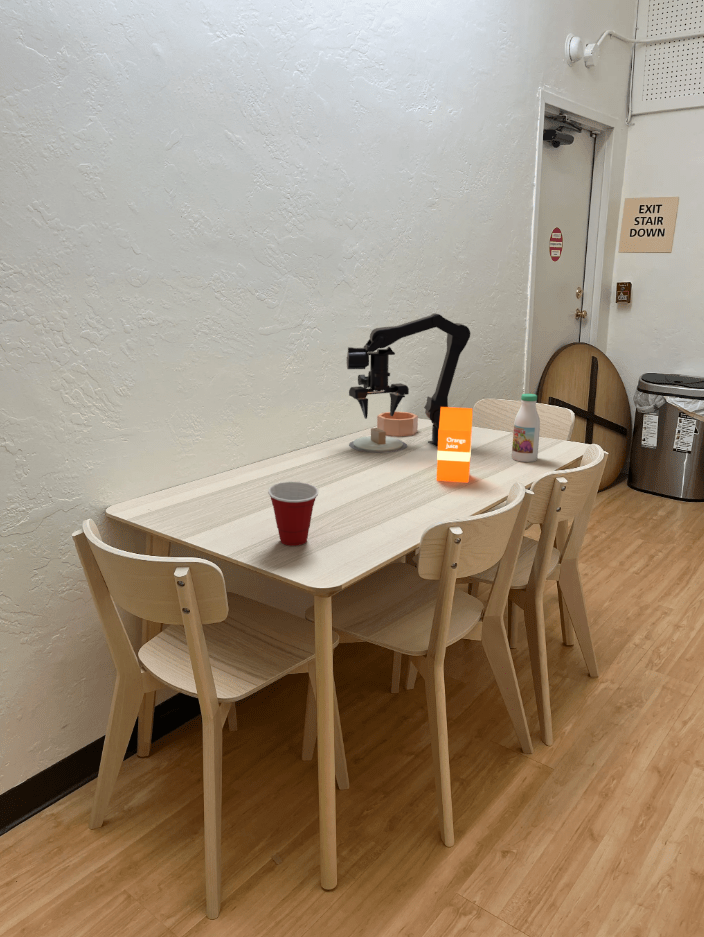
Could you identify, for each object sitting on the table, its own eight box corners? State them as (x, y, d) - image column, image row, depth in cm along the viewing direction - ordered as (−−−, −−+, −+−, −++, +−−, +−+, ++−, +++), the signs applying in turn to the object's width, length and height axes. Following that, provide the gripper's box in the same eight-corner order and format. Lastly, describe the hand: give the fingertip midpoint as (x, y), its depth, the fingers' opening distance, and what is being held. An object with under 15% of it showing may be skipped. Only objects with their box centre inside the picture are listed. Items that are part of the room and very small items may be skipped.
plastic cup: (285, 555, 148) (284, 500, 144) (260, 539, 156) (258, 487, 153) (329, 543, 154) (328, 490, 150) (302, 528, 162) (301, 478, 159)
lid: (411, 448, 228) (411, 433, 227) (365, 453, 222) (365, 438, 221) (389, 437, 242) (389, 422, 241) (345, 441, 236) (346, 426, 235)
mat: (417, 450, 227) (417, 449, 227) (363, 456, 220) (363, 455, 220) (391, 436, 244) (391, 435, 244) (340, 441, 237) (340, 440, 237)
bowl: (422, 434, 247) (423, 418, 245) (388, 438, 242) (388, 421, 240) (405, 426, 258) (405, 410, 256) (372, 430, 253) (372, 413, 251)
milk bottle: (521, 454, 223) (526, 391, 218) (542, 459, 218) (548, 395, 212) (506, 458, 219) (510, 394, 213) (527, 464, 213) (532, 398, 207)
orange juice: (468, 482, 195) (472, 411, 190) (436, 480, 197) (439, 409, 191) (469, 474, 203) (473, 405, 197) (438, 472, 204) (441, 404, 199)
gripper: (394, 363, 236) (393, 410, 240) (342, 367, 229) (342, 414, 233) (410, 368, 226) (408, 416, 230) (356, 372, 219) (355, 421, 223)
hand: (378, 417), depth 230 cm, fingers open, 9 cm apart
